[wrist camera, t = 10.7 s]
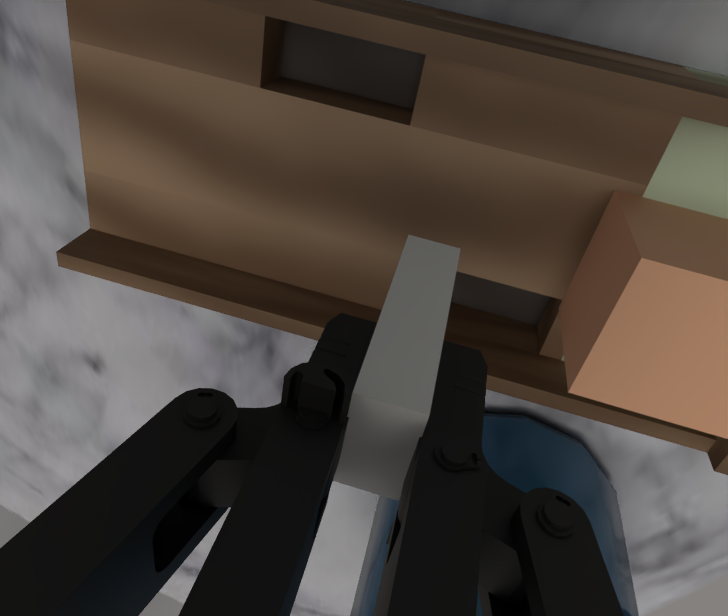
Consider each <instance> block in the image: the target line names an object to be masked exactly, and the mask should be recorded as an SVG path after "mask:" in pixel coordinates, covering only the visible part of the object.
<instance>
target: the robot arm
mask: <svg viewBox="0 0 728 616" xmlns="http://www.w3.org/2000/svg"><path fill="white" fill-rule="evenodd" d="M459 255H460V248H457V247H453V246H449V245H446V244H442V243H438V242H434V241H431V240H427V239H423V238H419V237H416V236H412V235H408V238H407V241H406V244H405V246H404V249H403V252H402V255H401V258H400V261H399V263H398V266H397V269H396V272H395V275H394V277H393V280H392V283H391V286H390V289H389V291H388V294H387V297H386V300H385V303H384V306H383V308H382V311H381V314H380V317H379V320H378V322H377V323H376V322H373V321H369V320H366V319H362V318H359V317H355V316H352V315H348V314H345V313H340V314H338V315H337V316H336V317H334V318H333V319H331V320H330V321H329V322H327V324H326V326H325V328H324V330H323V332H322V335H321V337H320V339H319V341H318V343H317V345H316V347H315V350H314V351H313V353H312V356H311V358H310V360H309V362H308V363H301V364H299V365H297V366H295V367H293V368H291V369H290V370H289V371H288V373H287V374H286V375H285V376H284V383H283V391H282V400H281V403H279V404H277V405H275V406H271V407H267V408H237V406H236V404H235V402H234V400H233V399H232V398H231V397H229V396H228V395H227V394H226V393H224V392H221V391H218V390H215V389H210V388H198V389H194V390H190V391H186V392H184V393H183V394H181V395H179V396H178V397H176V398H175V399H173V400H172V401H171V402H170V403H169V404H168V405H166V406H165V407H164V408H163V409H162V410H161V411H159V412H158V413H157V414H156V415H155V416H154V417H152V418H151V419H150V420H149V421H148V422H147V423H146V424H144V425H143V426H142V427H141V428H140V429H139V430H137V431H136V432H135V433H134V434H133V435H132V436H130V437H129V438H128V439H127V440H126V441H125V442H123V443H122V444H121V445H120V446H119V447H118V448H116V449H115V450H114V451H113V452H112V453H111V454H109V455H108V456H107V457H106V458H105V459H104V460H103V461H101V462H100V463H99V464H98V465H97V466H96V467H94V468H93V469H92V470H91V471H90V472H89V473H87V474H86V475H85V476H84V477H83V478H82V479H80V480H79V481H78V482H77V483H76V484H75V485H73V486H72V487H71V488H70V489H69V490H68V491H66V492H65V493H64V494H63V495H62V496H61V497H59V498H58V499H57V500H56V501H55V502H54V503H53V504H51V505H50V506H49V507H48V508H47V509H46V510H44V511H43V512H42V513H41V514H40V515H39V516H37V517H36V518H35V519H34V520H33V521H32V522H30V523H29V524H28V525H27V526H26V527H25V528H23V529H22V530H21V531H20V532H19V533H18V534H16V535H15V536H14V537H13V538H12V539H11V540H10V541H8V542H7V543H6V544H5V545H4V546H3V547H1V548H0V616H138V615H139V614H140V613H141V612H142V611H143V610H144V608H145V607H146V606H147V605H148V604H149V602H150V601H151V600H152V599H153V598H154V596H155V595H156V594H157V593H158V592H159V590H160V589H161V588H162V587H163V586H164V584H165V583H166V582H167V581H168V580H169V578H170V577H171V576H172V575H173V574H174V573H175V571H176V570H177V569H178V568H179V567H180V565H181V564H182V563H183V562H184V561H185V559H186V558H187V557H188V556H189V555H190V553H191V552H192V551H193V550H194V549H195V547H196V546H197V545H198V544H199V543H200V541H201V540H202V539H203V538H204V537H205V536H206V534H207V533H208V532H209V531H210V530H211V528H212V527H213V526H214V525H215V524H216V522H217V521H218V520H219V519H220V518H221V516H222V515H223V514H224V513H225V512H226V510H227V509H228V507H231V509H230V511H229V513H228V515H227V517H226V519H225V521H224V523H223V526H222V528H221V530H220V532H219V534H218V536H217V538H216V540H215V542H214V544H213V546H212V548H211V550H210V552H209V554H208V556H207V558H206V560H205V562H204V565H203V567H202V569H201V571H200V573H199V575H198V577H197V579H196V581H195V583H194V585H193V587H192V589H191V591H190V593H189V595H188V597H187V599H186V602H185V604H184V606H183V608H182V610H181V612H180V614H179V616H290V613H291V610H292V607H293V604H294V601H295V598H296V595H297V592H298V589H299V586H300V583H301V580H302V577H303V574H304V571H305V568H306V565H307V562H308V558H309V555H310V552H311V549H312V546H313V543H314V540H315V537H316V534H317V531H318V528H319V525H320V522H321V519H322V516H323V513H324V510H325V507H326V504H327V500H328V495H329V491H330V487H331V484H332V481H336V482H339V483H343V484H346V485H349V486H352V487H356V488H359V489H362V490H365V491H369V492H372V493H375V494H378V495H382V496H385V497H388V498H391V499H395V500H398V501H399V500H400V502H399V507H398V511H397V513H396V516H395V519H394V522H393V525H392V527H391V530H390V533H389V536H388V538H387V541H386V544H388V548H387V553H386V558H385V562H384V567H383V571H382V576H381V581H380V585H379V590H378V594H377V599H376V604H375V608H374V613H373V616H476V611H477V596H478V591H479V597H480V603H481V609H482V615H483V616H624V615H623V612H622V609H621V606H620V603H619V601H618V598H617V595H616V592H615V590H614V587H613V584H612V581H611V578H610V576H609V573H608V570H607V567H606V564H605V562H604V559H603V556H602V553H601V551H600V548H599V545H598V542H597V539H596V537H595V534H594V531H593V528H592V525H591V523H590V521H589V519H588V517H587V515H586V513H585V512H584V510H583V509H582V508H581V507H580V506H579V505H578V504H577V503H576V502H575V501H574V500H573V499H572V498H571V497H569V496H567V495H566V494H564V493H562V492H561V491H558V490H554V489H551V488H547V487H544V488H534V489H532V490H530V491H529V492H527V493H525V492H523V491H521V490H520V489H518V488H516V487H515V486H513V485H511V484H510V483H508V482H507V481H505V480H504V479H502V478H501V477H500V476H498V475H497V474H496V473H495V472H494V470H493V469H492V468H491V467H490V466H489V464H488V463H487V461H486V459H485V456H484V454H483V451H482V433H483V421H484V408H485V395H486V382H487V370H488V366H487V364H486V362H485V359H484V357H483V355H482V353H481V351H480V350H477V349H473V348H470V347H466V346H463V345H459V344H456V343H452V342H449V341H445V340H444V335H445V330H446V324H447V319H448V314H449V308H450V303H451V298H452V292H453V287H454V282H455V276H456V271H457V266H458V260H459ZM400 497H401V498H400Z"/></svg>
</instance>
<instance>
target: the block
mask: <svg viewBox="0 0 728 616" xmlns="http://www.w3.org/2000/svg"><path fill="white" fill-rule="evenodd" d="M559 317H560V326H561V335H562V343H563V352H564V361H565V369H566V378H567V387H568V393H572V394H575V395H579V396H582V397H585V398H589V399H592V400H596V401H599V402H603V403H606V404H609V405H613V406H616V407H620V408H623V409H627V410H630V411H633V412H637V413H640V414H644V415H647V416H650V417H654V418H657V419H661V420H664V421H668V422H671V423H674V424H678V425H681V426H685V427H688V428H692V429H695V430H698V431H702V432H705V433H709V434H712V435H716V436H719V437H722V438H726V439H728V219H724V218H721V217H717V216H713V215H709V214H705V213H702V212H698V211H694V210H690V209H686V208H683V207H679V206H675V205H671V204H668V203H664V202H660V201H656V200H652V199H649V198H645V197H641V196H637V195H633V194H630V193H626V192H622V191H618V190H614V193H613V195H612V197H611V199H610V201H609V203H608V205H607V207H606V209H605V211H604V214H603V216H602V218H601V220H600V222H599V224H598V226H597V228H596V230H595V232H594V235H593V237H592V239H591V241H590V243H589V245H588V247H587V249H586V251H585V253H584V256H583V258H582V260H581V262H580V264H579V266H578V268H577V270H576V272H575V274H574V277H573V279H572V281H571V283H570V285H569V287H568V289H567V291H566V293H565V295H564V298H563V300H562V302H561V304H560V306H559Z"/></svg>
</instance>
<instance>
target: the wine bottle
mask: <svg viewBox="0 0 728 616" xmlns="http://www.w3.org/2000/svg"><path fill="white" fill-rule="evenodd" d="M482 451H483V454H484V456H485V459H486V461H487V463H488V464H489V466H490V467H491V468H492V469H493V470H494V472H495V473H496V474H497V475H498V476H500V477H501V478H502V479H504V480H505V481H507V482H508V483H510V484H511V485H513V486H515V487H516V488H518V489H520V490H521V491H523V492H525V493H527V492H529V491H530V490H532V489H534V488H544V487H547V488H551V489H554V490H558V491H561V492H562V493H564V494H566V495H567V496H569V497H571V498H572V499H573V500H574V501H575V502H576V503H577V504H578V505H579V506H580V507H581V508H582V509H583V510H584V512H585V513H586V515H587V517H588V519H589V521H590V523H591V525H592V528H593V531H594V534H595V537H596V539H597V542H598V545H599V548H600V551H601V553H602V556H603V559H604V562H605V564H606V567H607V570H608V573H609V576H610V578H611V581H612V584H613V587H614V590H615V592H616V595H617V598H618V601H619V603H620V606H621V609H622V612H623V615H624V616H639V615H638V609H637V604H636V598H635V593H634V587H633V582H632V576H631V571H630V565H629V560H628V554H627V548H626V543H625V537H624V532H623V526H622V521H621V515H620V510H619V504H618V499H617V493H616V490H615V489H614V488H613V486H612V485H611V483H610V482H609V481H608V479H607V478H606V476H605V475H604V474H603V472H602V471H601V469H600V468H599V467H598V465H597V464H596V463H595V461H594V460H593V458H592V457H591V456H590V454H589V453H588V451H587V450H586V449H585V448H584V446H583V445H582V444H581V443H580V441H579V440H576V439H574V438H572V437H570V436H568V435H566V434H564V433H562V432H559V431H557V430H555V429H553V428H551V427H549V426H547V425H545V424H543V423H540V422H538V421H536V420H534V419H532V418H530V417H528V416H526V415H509V414H489V413H484V421H483V433H482ZM400 498H401V497H400ZM399 502H400V500H399V501H398V500H395V499H391V498H388V497H385V496H382V495H380V496H379V500H378V504H377V508H376V512H375V516H374V520H373V524H372V529H371V533H370V537H369V541H368V545H367V549H366V553H365V557H364V561H363V565H362V570H361V574H360V578H359V582H358V586H357V590H356V594H355V598H354V602H353V606H352V611H351V615H350V616H373V613H374V608H375V604H376V599H377V594H378V590H379V585H380V581H381V576H382V571H383V567H384V562H385V558H386V553H387V548H388V544H386V541H387V538H388V536H389V533H390V530H391V527H392V525H393V522H394V519H395V516H396V513H397V511H398V507H399ZM476 616H483V615H482V609H481V603H480V597H479V591H478V596H477V611H476Z"/></svg>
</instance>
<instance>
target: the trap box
mask: <svg viewBox="0 0 728 616" xmlns="http://www.w3.org/2000/svg"><path fill="white" fill-rule="evenodd" d="M66 8H67V17H68V26H69V35H70V45H71V54H72V63H73V72H74V82H75V91H76V100H77V109H78V118H79V128H80V137H81V146H82V155H83V164H84V174H85V183H86V192H87V201H88V211H89V220H90V229H89V230H87V231H86V232H85V233H83V234H82V235H80V236H79V237H77V238H76V239H74V240H73V241H71V242H70V243H68V244H67V245H66V246H64V247H63V248H61V249H60V250H58V251H57V252H56V253H57V260H58V266H60V267H64V268H67V269H71V270H74V271H78V272H81V273H84V274H88V275H91V276H95V277H98V278H102V279H105V280H109V281H112V282H116V283H119V284H123V285H126V286H130V287H133V288H137V289H140V290H144V291H147V292H151V293H154V294H158V295H161V296H165V297H168V298H171V299H175V300H178V301H182V302H185V303H189V304H192V305H196V306H199V307H203V308H206V309H210V310H213V311H217V312H220V313H224V314H227V315H231V316H234V317H238V318H241V319H245V320H248V321H252V322H255V323H258V324H262V325H265V326H269V327H272V328H276V329H279V330H283V331H286V332H290V333H293V334H297V335H300V336H304V337H307V338H311V339H314V340H318V341H319V339H320V337H321V335H322V332H323V330H324V328H325V326H326V324H327V322H329V321H330V320H331V319H333V318H334V317H336V316H337V315H338V314H340V313H345V314H348V315H352V316H355V317H359V318H362V319H366V320H369V321H373V322H376V323H377V322H378V320H379V317H380V314H381V311H382V308H383V306H384V303H385V300H386V297H387V294H388V291H389V289H390V286H391V283H392V280H393V277H394V275H395V272H396V269H397V266H398V263H399V261H400V258H401V255H402V252H403V249H404V246H405V244H406V241H407V238H408V235H412V236H416V237H419V238H423V239H427V240H431V241H434V242H438V243H442V244H446V245H449V246H453V247H457V248H460V255H459V260H458V266H457V271H456V276H455V282H454V287H453V292H452V298H451V303H450V308H449V314H448V319H447V324H446V330H445V335H444V340H445V341H449V342H452V343H456V344H459V345H463V346H466V347H470V348H473V349H477V350H480V351H481V353H482V355H483V357H484V359H485V362H486V364H487V366H488V370H487V382H486V389H488V390H492V391H495V392H499V393H502V394H506V395H509V396H513V397H516V398H519V399H523V400H526V401H530V402H533V403H537V404H540V405H544V406H547V407H551V408H554V409H558V410H561V411H565V412H568V413H572V414H575V415H579V416H582V417H586V418H589V419H593V420H596V421H600V422H603V423H606V424H610V425H613V426H617V427H620V428H624V429H627V430H631V431H634V432H638V433H641V434H645V435H648V436H652V437H655V438H659V439H662V440H666V441H669V442H673V443H676V444H680V445H683V446H687V447H690V448H693V449H697V450H700V451H704V452H707V453H708V456H709V459H710V461H711V464H712V467H713V469H714V471H716V472H719V473H723V474H726V475H728V439H726V438H722V437H719V436H716V435H712V434H709V433H705V432H702V431H698V430H695V429H692V428H688V427H685V426H681V425H678V424H674V423H671V422H668V421H664V420H661V419H657V418H654V417H650V416H647V415H644V414H640V413H637V412H633V411H630V410H627V409H623V408H620V407H616V406H613V405H609V404H606V403H603V402H599V401H596V400H592V399H589V398H585V397H582V396H579V395H575V394H572V393H568V387H567V378H566V369H565V361H564V352H563V343H562V335H561V326H560V317H559V306H560V304H561V302H562V300H563V298H564V295H565V293H566V291H567V289H568V287H569V285H570V283H571V281H572V279H573V277H574V274H575V272H576V270H577V268H578V266H579V264H580V262H581V260H582V258H583V256H584V253H585V251H586V249H587V247H588V245H589V243H590V241H591V239H592V237H593V235H594V232H595V230H596V228H597V226H598V224H599V222H600V220H601V218H602V216H603V214H604V211H605V209H606V207H607V205H608V203H609V201H610V199H611V197H612V195H613V193H614V190H618V191H622V192H626V193H630V194H633V195H637V196H641V197H645V198H649V199H652V200H656V201H660V202H664V203H668V204H671V205H675V206H679V207H683V208H686V209H690V210H694V211H698V212H702V213H705V214H709V215H713V216H717V217H721V218H724V219H728V77H727V76H723V75H719V74H714V73H710V72H706V71H702V70H697V69H693V68H689V67H684V66H680V65H676V64H672V63H667V62H663V61H659V60H655V59H650V58H646V57H642V56H637V55H633V54H629V53H625V52H620V51H616V50H612V49H608V48H603V47H599V46H595V45H591V44H586V43H582V42H578V41H573V40H569V39H565V38H561V37H556V36H552V35H548V34H544V33H539V32H535V31H531V30H527V29H522V28H518V27H514V26H509V25H505V24H501V23H497V22H492V21H488V20H484V19H480V18H475V17H471V16H467V15H462V14H458V13H454V12H450V11H445V10H441V9H437V8H433V7H428V6H424V5H420V4H416V3H411V2H407V1H403V0H66Z"/></svg>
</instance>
